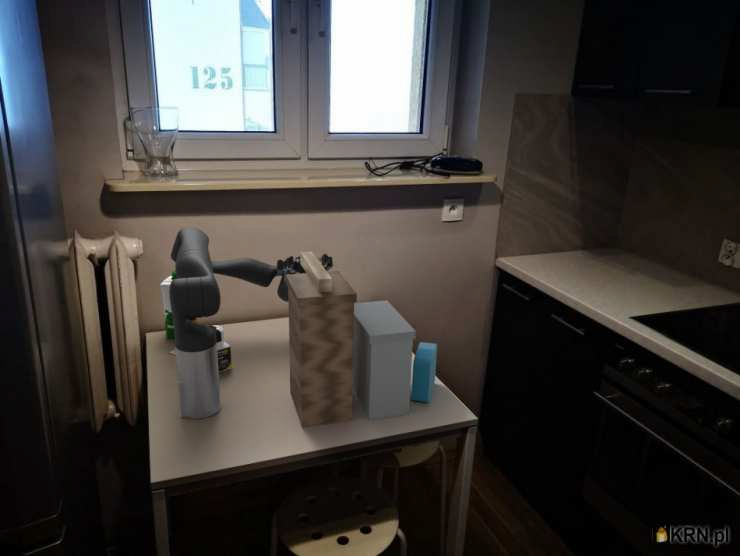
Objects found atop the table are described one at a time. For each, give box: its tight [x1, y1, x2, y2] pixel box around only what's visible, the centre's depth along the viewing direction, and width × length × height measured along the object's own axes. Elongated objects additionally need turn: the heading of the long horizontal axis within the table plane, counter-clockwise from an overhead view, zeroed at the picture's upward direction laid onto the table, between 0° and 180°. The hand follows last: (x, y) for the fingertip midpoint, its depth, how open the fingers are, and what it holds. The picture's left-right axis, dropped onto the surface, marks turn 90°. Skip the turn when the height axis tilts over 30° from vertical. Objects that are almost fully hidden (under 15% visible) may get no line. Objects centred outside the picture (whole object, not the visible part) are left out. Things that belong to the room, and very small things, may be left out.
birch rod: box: [299, 251, 332, 292], centre depth 133 cm, size 3×22×3 cm, turn 17°
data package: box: [410, 341, 438, 404], centre depth 144 cm, size 12×4×12 cm, turn 166°
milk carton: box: [159, 270, 177, 340], centre depth 173 cm, size 9×9×20 cm
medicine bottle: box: [207, 324, 233, 373], centre depth 154 cm, size 7×7×12 cm
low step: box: [352, 300, 417, 421], centre depth 140 cm, size 11×20×22 cm, turn 17°
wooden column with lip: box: [286, 270, 358, 428], centre depth 133 cm, size 13×16×32 cm
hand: (308, 258), depth 140 cm, fingers open, 8 cm apart
